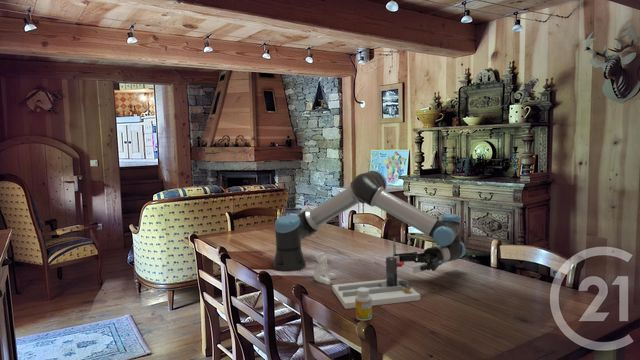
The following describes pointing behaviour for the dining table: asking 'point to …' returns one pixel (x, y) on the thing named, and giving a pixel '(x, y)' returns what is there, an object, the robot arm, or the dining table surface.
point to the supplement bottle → (363, 304)
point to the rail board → (374, 293)
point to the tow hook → (395, 253)
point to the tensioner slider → (393, 274)
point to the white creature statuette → (323, 270)
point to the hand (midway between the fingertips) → (399, 266)
